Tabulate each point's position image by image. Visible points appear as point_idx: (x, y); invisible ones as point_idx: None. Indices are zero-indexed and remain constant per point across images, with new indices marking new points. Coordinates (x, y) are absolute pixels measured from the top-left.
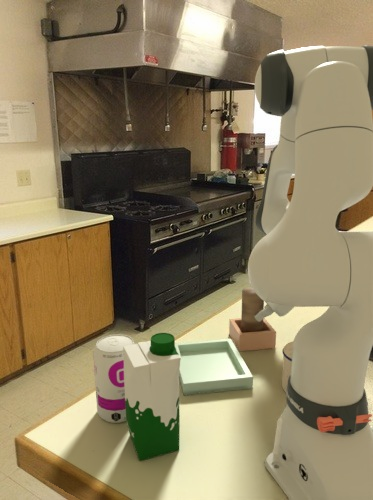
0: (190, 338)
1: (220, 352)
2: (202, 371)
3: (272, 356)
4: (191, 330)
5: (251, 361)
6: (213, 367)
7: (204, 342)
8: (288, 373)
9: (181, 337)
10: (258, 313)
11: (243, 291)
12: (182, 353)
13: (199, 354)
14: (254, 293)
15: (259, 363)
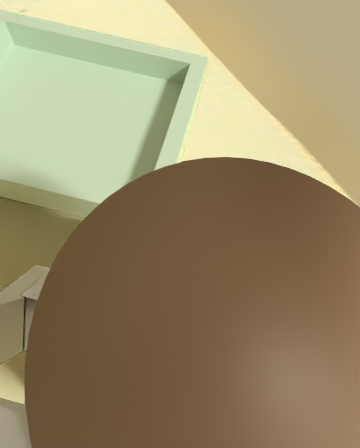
0: (277, 157)
1: (130, 178)
2: (60, 93)
3: (16, 359)
4: (335, 182)
5: (38, 255)
6: (61, 123)
7: (173, 127)
8: None
9: (291, 138)
10: (20, 286)
11: (290, 184)
12: (178, 92)
13: (150, 123)
14: (145, 292)
15: (8, 274)
